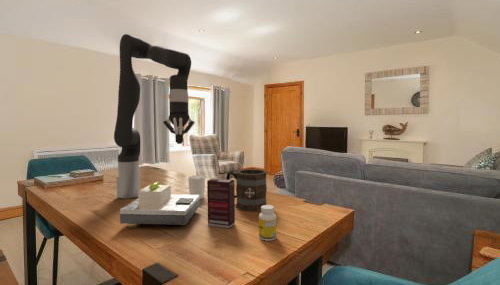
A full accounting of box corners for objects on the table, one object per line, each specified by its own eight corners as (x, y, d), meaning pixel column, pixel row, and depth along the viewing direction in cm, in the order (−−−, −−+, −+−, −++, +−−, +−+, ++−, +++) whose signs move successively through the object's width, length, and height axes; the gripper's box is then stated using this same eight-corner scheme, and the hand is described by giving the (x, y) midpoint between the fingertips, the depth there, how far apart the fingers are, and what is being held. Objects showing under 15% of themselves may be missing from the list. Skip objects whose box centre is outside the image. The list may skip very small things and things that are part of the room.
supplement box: (235, 223, 96) (235, 179, 95) (229, 228, 92) (229, 182, 91) (213, 220, 99) (213, 177, 98) (207, 225, 95) (206, 180, 93)
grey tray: (120, 229, 91) (120, 214, 91) (146, 210, 111) (145, 198, 111) (185, 230, 90) (185, 215, 90) (199, 211, 110) (199, 199, 110)
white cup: (207, 195, 134) (206, 175, 133) (202, 200, 126) (202, 178, 125) (191, 195, 134) (191, 175, 134) (186, 199, 127) (185, 178, 126)
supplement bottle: (257, 234, 87) (257, 204, 86) (274, 233, 88) (274, 203, 87) (259, 241, 82) (260, 209, 81) (277, 241, 82) (278, 209, 82)
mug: (272, 204, 119) (273, 170, 118) (257, 213, 107) (257, 176, 106) (235, 198, 129) (235, 167, 128) (217, 205, 117) (217, 171, 116)
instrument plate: (120, 213, 91) (119, 189, 90) (145, 197, 111) (145, 177, 110) (185, 215, 90) (184, 190, 89) (199, 198, 110) (199, 178, 109)
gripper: (159, 100, 108) (160, 144, 109) (192, 100, 107) (193, 144, 108) (166, 102, 115) (167, 142, 116) (197, 102, 115) (197, 143, 116)
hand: (179, 143), depth 112 cm, fingers closed
